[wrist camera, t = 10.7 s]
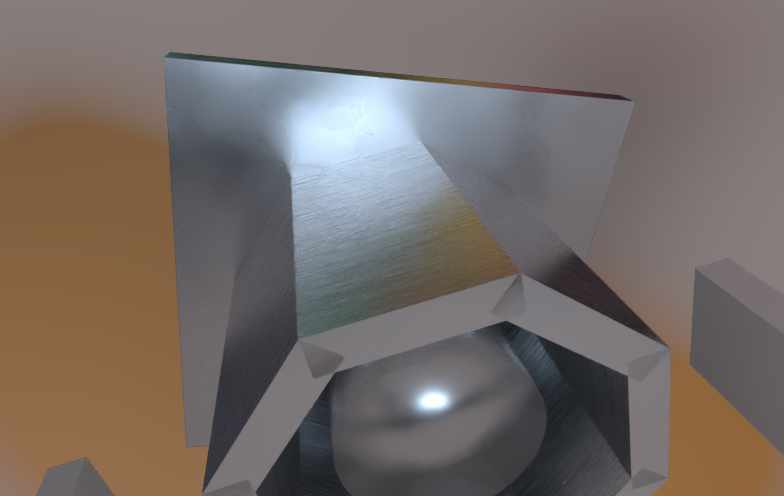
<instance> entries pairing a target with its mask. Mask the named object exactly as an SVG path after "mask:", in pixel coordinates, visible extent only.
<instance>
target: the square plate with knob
mask: <svg viewBox="0 0 784 496" xmlns="http://www.w3.org/2000/svg"><path fill="white" fill-rule="evenodd" d="M164 69H165V87H166V105H167V122H168V140H169V155H170V156H169V157H170V173H171V191H172V209H173V226H174V243H175V261H176V278H177V294H178V313H179V330H180V347H181V365H182V382H183V399H184V417H185V432H186V447H203V446H209V444H210V437H211V431H212V424H213V417H214V411H215V404H216V398H217V391H218V384H219V378H220V371H221V364H222V358H223V351H224V344H225V338H226V331H227V324H228V318H229V311H230V304H231V298H232V291H233V284H234V282H235V280H236V278H237V276H238V274H239V273H240V271H241V269H242V267H243V265H244V264H245V262H246V260H247V258H248V256H249V254H250V253H251V251H252V249H253V247H254V245H255V244H256V242H257V240H258V238H259V236H260V234H261V233H262V231H263V229H264V227H265V225H266V223H267V222H268V220H269V218H270V216H271V214H272V213H273V211H274V209H275V207H276V205H277V203H278V202H279V200H280V198H281V196H282V194H283V193H284V191H285V189H286V187H287V185H288V183H289V182H290V180H291V178H293V177H297V176H300V175H303V174H307V173H310V172H314V171H317V170H321V169H324V168H328V167H331V166H335V165H338V164H342V163H345V162H349V161H352V160H356V159H359V158H363V157H366V156H370V155H373V154H377V153H380V152H384V151H387V150H391V149H394V148H397V147H401V146H404V145H408V144H411V143H415V142H418V141H421V142H423V143H425V144H427V145H428V146H430V147H432V148H434V149H435V150H437V151H439V152H441V153H442V154H444V155H446V156H448V157H449V158H451V159H453V160H455V161H456V162H458V163H460V164H461V165H463V166H465V167H467V168H468V169H470V170H472V171H474V172H475V173H477V174H479V175H481V176H482V177H484V178H486V179H488V180H489V181H491V182H493V183H495V184H496V185H498V186H500V187H502V188H503V189H505V190H507V191H509V192H510V193H512V194H514V195H516V196H517V197H519V198H521V199H522V200H523V201H524V202H525V203H526V204H527V205H528V206H529V207H530V208H531V209H532V210H533V211H534V212H535V213H536V214H537V215H538V216H539V217H540V218H541V219H542V220H543V221H544V222H545V223H546V224H547V225H548V226H549V227H550V228H551V229H552V230H553V231H554V232H555V233H556V234H557V235H558V236H559V237H560V238H561V239H562V240H563V241H564V242H565V243H566V244H567V245H568V246H569V247H570V248H571V249H572V250H573V251H574V252H575V253H576V254H577V255H578V256H579V257H580V258H581V259H582V260H583V261H584V262H586V259H587V255H588V252H589V249H590V246H591V242H592V239H593V235H594V233H595V229H596V226H597V223H598V220H599V216H600V213H601V210H602V206H603V203H604V200H605V197H606V194H607V190H608V187H609V184H610V181H611V177H612V174H613V171H614V168H615V164H616V161H617V158H618V155H619V151H620V148H621V145H622V142H623V138H624V135H625V132H626V129H627V125H628V122H629V119H630V116H631V112H632V109H633V106H634V103H635V101H632V100H630V99H627V98H625V97H622V96H620V95H612V94H602V93H590V92H581V91H570V90H559V89H549V88H539V87H529V86H518V85H507V84H497V83H486V82H476V81H466V80H454V79H445V78H434V77H423V76H414V75H403V74H393V73H382V72H381V73H380V72H372V71H361V70H351V69H340V68H330V67H320V66H309V65H298V64H288V63H278V62H267V61H257V60H246V59H236V58H235V59H234V58H226V57H215V56H204V55H194V54H183V53H172V52H170V53H168V54H167V55H166V56H165V57H164ZM326 390H327V400H328V410H329V420H330V430H331V439H332V449H333V459H334V464H335V469H336V472H337V475H338V477H339V479H340V481H341V483H342V484H343V486H344V487H345V489H346V490H347V491H348V492H349V493H350V494H351V495H352V496H494V495H496V494H497V493H499V492H500V491H502V490H503V489H504V488H506V487H507V486H508V485H510V484H511V483H512V482H513V481H514V480H515V479H517V478H518V477H519V476H520V475H521V474H522V472H523V471H524V470H525V469H526V468H527V467H528V466H529V464H530V463H531V461H532V460H533V459H534V457H535V455H536V453H537V452H538V450H539V448H540V446H541V443H542V441H543V438H544V434H545V430H546V420H547V416H546V407H545V404H544V400H543V397H542V395H541V393H540V391H539V389H538V388H537V386H536V384H535V383H534V381H533V379H532V378H531V376H530V374H529V372H528V371H527V369H526V367H525V366H524V364H523V362H522V361H521V359H520V357H519V356H518V354H517V352H516V351H515V349H514V347H513V346H512V344H511V342H510V341H509V339H508V337H507V336H506V334H505V332H504V330H503V329H502V327H501V325H500V324H499V323H497V324H493V325H490V326H487V327H484V328H480V329H477V330H474V331H470V332H467V333H464V334H461V335H457V336H454V337H451V338H447V339H444V340H441V341H437V342H434V343H431V344H428V345H424V346H421V347H418V348H414V349H411V350H408V351H404V352H401V353H398V354H395V355H391V356H388V357H385V358H381V359H378V360H375V361H372V362H368V363H365V364H362V365H358V366H355V367H352V368H348V369H345V370H342V371H339V372H335V373H334V374H333V376H332V377H331V379H330V380H329V382H328V383H327V385H326Z"/></svg>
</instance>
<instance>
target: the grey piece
mask: <svg viewBox="0 0 784 496" xmlns="http://www.w3.org/2000/svg"><path fill="white" fill-rule="evenodd" d="M497 323H499V324H500V325H501V327H502V329H503V330H504V332H505V334H506V336H507V337H508V339H509V341H510V342H511V344H512V346H513V347H514V349H515V351H516V352H517V354H518V356H519V357H520V359H521V361H522V362H523V364H524V366H525V367H526V369H527V371H528V372H529V374H530V376H531V378H532V379H533V381H534V383H535V384H536V386H537V388H538V389H539V391H540V393H541V395H542V397H543V400H544V404H545V407H546V416H547V420H546V430H545V434H544V438H543V441H542V443H541V446H540V448H539V450H538V452H537V453H536V455H535V457H534V459H533V460H532V461H531V463H530V464H529V466H528V467H527V468H526V469H525V470H524V471H523V472H522V474H521V475H520V476H519V477H518V478H517V479H515V480H514V481H513V482H512V483H511V484H510V485H508V486H507V487H506V488H504V489H503V490H502V491H500V492H499V493H497V494H496V495H494V496H651V495H652V494H653V493H654V492H655V491H656V490H657V489H658V488H659V487H660V486H661V485H662V484H663V483H664V482H665V481H666V480H667V479H668V478H669V476H668V475H669V422H670V419H669V418H670V362H671V348H669V346H668V345H667V344H666V343H665V342H664V341H663V340H662V339H661V338H660V337H659V336H658V335H657V334H656V333H655V332H654V331H653V330H652V329H651V328H650V327H649V326H648V325H647V324H646V323H645V322H644V321H643V320H642V319H641V318H640V317H639V316H638V315H637V314H636V313H635V312H634V311H632V309H631V308H630V307H629V306H628V305H627V304H626V303H625V302H624V301H623V300H622V299H621V298H620V297H619V296H618V295H617V294H616V293H615V292H614V291H613V290H612V289H611V288H610V287H609V286H608V285H607V284H606V283H605V282H604V281H603V280H602V279H601V278H600V277H599V276H598V275H597V274H596V273H595V272H594V271H593V270H592V269H591V268H590V267H589V266H588V265H587V264H586V263H585V262H584V261H583V260H582V259H581V258H580V257H579V256H578V255H577V254H576V253H575V252H574V251H573V250H572V249H571V248H570V247H569V246H568V245H567V244H566V243H565V242H564V241H563V240H562V239H561V238H560V237H559V236H558V235H557V234H556V233H555V232H554V231H553V230H552V229H551V228H550V227H549V226H548V225H547V224H546V223H545V222H544V221H543V220H542V219H541V218H540V217H539V216H538V215H537V214H536V213H535V212H534V211H533V210H532V209H531V208H530V207H529V206H528V205H527V204H526V203H525V202H524V201H523V200H522V199H521V198H519V197H517V196H516V195H514V194H512V193H510V192H509V191H507V190H505V189H503V188H502V187H500V186H498V185H496V184H495V183H493V182H491V181H489V180H488V179H486V178H484V177H482V176H481V175H479V174H477V173H475V172H474V171H472V170H470V169H468V168H467V167H465V166H463V165H461V164H460V163H458V162H456V161H455V160H453V159H451V158H449V157H448V156H446V155H444V154H442V153H441V152H439V151H437V150H435V149H434V148H432V147H430V146H428V145H427V144H425V143H423V142H421V141H418V142H415V143H411V144H408V145H404V146H401V147H397V148H394V149H391V150H387V151H384V152H380V153H377V154H373V155H370V156H366V157H363V158H359V159H356V160H352V161H349V162H345V163H342V164H338V165H335V166H331V167H328V168H324V169H321V170H317V171H314V172H310V173H307V174H303V175H300V176H297V177H293V178H291V180H290V182H289V183H288V185H287V187H286V189H285V191H284V193H283V194H282V196H281V198H280V200H279V202H278V203H277V205H276V207H275V209H274V211H273V213H272V214H271V216H270V218H269V220H268V222H267V223H266V225H265V227H264V229H263V231H262V233H261V234H260V236H259V238H258V240H257V242H256V244H255V245H254V247H253V249H252V251H251V253H250V254H249V256H248V258H247V260H246V262H245V264H244V265H243V267H242V269H241V271H240V273H239V274H238V276H237V278H236V280H235V282H234V284H233V291H232V298H231V304H230V311H229V318H228V324H227V331H226V338H225V344H224V351H223V358H222V364H221V371H220V378H219V384H218V391H217V398H216V404H215V411H214V417H213V424H212V431H211V437H210V444H209V451H208V457H207V464H206V471H205V477H204V484H203V491H202V495H203V496H352V495H351V494H350V493H349V492H348V491H347V490H346V489H345V487H344V486H343V484H342V483H341V481H340V479H339V477H338V475H337V472H336V469H335V464H334V459H333V449H332V439H331V430H330V420H329V410H328V400H327V390H326V385H327V383H328V382H329V380H330V379H331V377H332V376H333V374H334V373H335V372H339V371H342V370H345V369H348V368H352V367H355V366H358V365H362V364H365V363H368V362H372V361H375V360H378V359H381V358H385V357H388V356H391V355H395V354H398V353H401V352H404V351H408V350H411V349H414V348H418V347H421V346H424V345H428V344H431V343H434V342H437V341H441V340H444V339H447V338H451V337H454V336H457V335H461V334H464V333H467V332H470V331H474V330H477V329H480V328H484V327H487V326H490V325H493V324H497Z"/></svg>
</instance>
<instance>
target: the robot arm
mask: <svg viewBox="0 0 784 496" xmlns="http://www.w3.org/2000/svg"><path fill="white" fill-rule="evenodd" d="M694 282H695V283H694V299H693V317H692V336H691V352H690V365H691V366H692V367H693V368H694V369H695V370H696V371H697V372H698V373H699V374H700V375H701V376H702V377H703V378H704V379H706V380H707V381H708V382H709V383H710V384H711V385H712V386H713V387H714V388H715V389H716V390H717V391H718V392H719V393H720V394H721V395H722V396H723V397H724V398H725V399H726V400H727V401H728V402H729V403H730V404H731V405H732V406H733V407H734V408H735V409H736V410H737V411H738V412H739V413H740V414H741V415H742V416H743V417H745V419H746V420H747V421H748V422H749V423H750V424H752V426H754V428H756V429H757V430H758V431H759V432H760V433H761V434H762V435H763V436H764V437H765V438H766V439H767V440H768V441H769V442H770V443H771V444H772V445H773V446H774V447H775V448H776V449H777V450H778V451H779V452H780V453H781V454H782V455H783V456H784V295H783V294H781V293H780V292H779V291H777V290H775V289H774V288H772V287H771V286H769V285H768V284H766V283H765V282H763V281H762V280H760V279H759V278H757V277H756V276H754V275H753V274H751V273H750V272H748V271H747V270H745V269H744V268H742V267H741V266H739V265H738V264H736V263H735V262H733V261H732V260H730V259H729V258H727V259H724V260H721V261H718V262H714V263H712V264H708V265H705V266H701V267H698V268H695V281H694ZM36 496H115V495H114V494H113V493H112V491H111V490H110V489H109V487H108V486H107V484H106V483H105V482H104V481H103V479H102V478H101V476H100V475H99V474H98V472H97V471H96V470H95V468H94V467H93V466H92V464H91V463H90V462H89V460H88V459H87V458H86V457H85V458H81V459H78V460H75V461H72V462H69V463H66V464H62V465H59V466H56V467H53V468H49V469H48V470H47V472H46V475H45V477H44V479H43V482H42V484H41V486H40V488H39V491H38V493H37V495H36Z"/></svg>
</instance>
